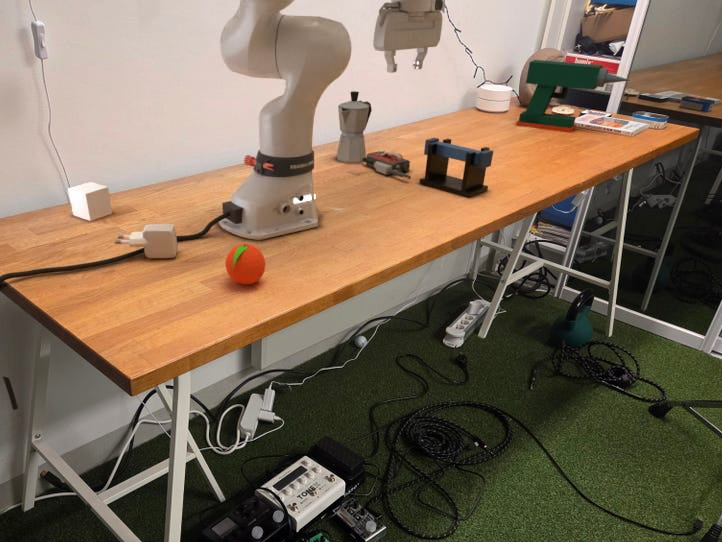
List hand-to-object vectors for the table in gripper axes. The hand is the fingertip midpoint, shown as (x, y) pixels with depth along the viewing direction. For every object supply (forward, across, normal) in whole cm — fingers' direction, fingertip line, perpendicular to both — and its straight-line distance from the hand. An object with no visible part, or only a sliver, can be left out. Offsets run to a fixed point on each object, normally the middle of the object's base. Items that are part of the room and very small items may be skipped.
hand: (404, 70), depth 142 cm
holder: (+26, +9, -12) cm, 30 cm away
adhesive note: (+27, -68, +30) cm, 79 cm away
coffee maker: (+26, +10, +23) cm, 36 cm away
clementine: (+28, -64, -20) cm, 73 cm away
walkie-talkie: (+26, +8, +7) cm, 28 cm away
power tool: (+25, +91, 0) cm, 94 cm away
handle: (+20, +9, -12) cm, 24 cm away
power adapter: (+28, -70, +2) cm, 76 cm away
